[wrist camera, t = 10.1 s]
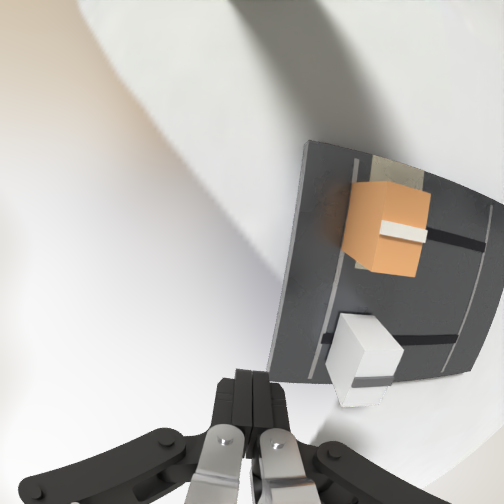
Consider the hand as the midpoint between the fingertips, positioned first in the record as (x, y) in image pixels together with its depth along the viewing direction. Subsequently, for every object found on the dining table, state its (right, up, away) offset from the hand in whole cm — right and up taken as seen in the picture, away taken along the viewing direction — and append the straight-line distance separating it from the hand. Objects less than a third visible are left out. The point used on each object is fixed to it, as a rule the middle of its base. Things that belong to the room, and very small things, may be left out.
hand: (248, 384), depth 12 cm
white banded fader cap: (+7, 0, +5) cm, 8 cm away
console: (+13, +4, +6) cm, 15 cm away
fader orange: (+7, +8, +4) cm, 11 cm away
